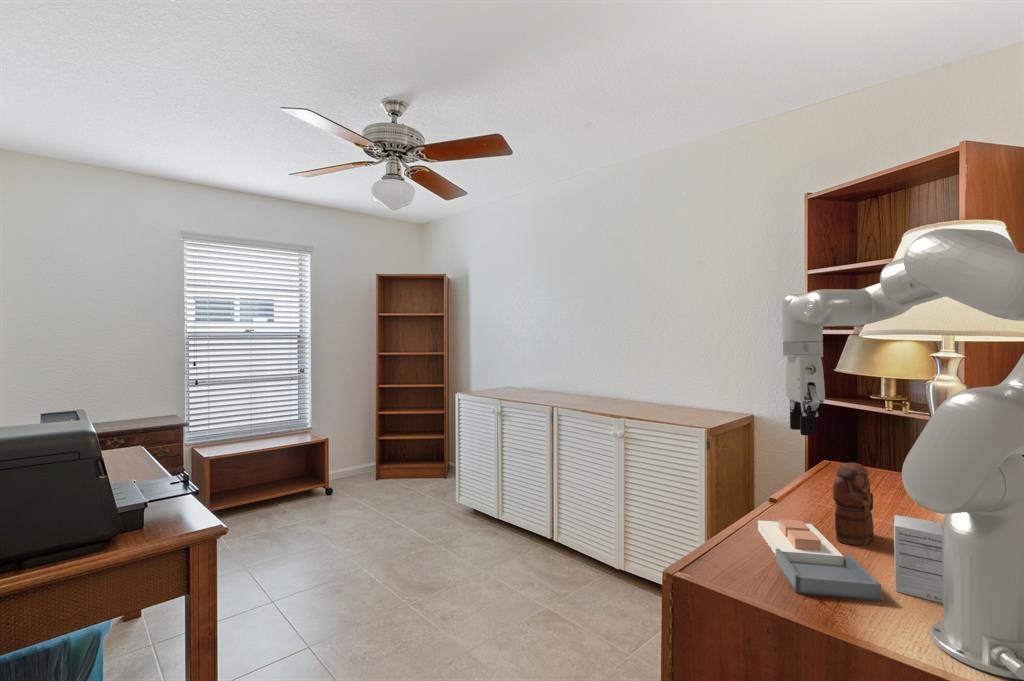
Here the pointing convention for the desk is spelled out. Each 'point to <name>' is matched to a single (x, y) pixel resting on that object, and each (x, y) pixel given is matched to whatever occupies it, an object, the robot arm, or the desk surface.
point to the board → (779, 541)
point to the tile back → (791, 526)
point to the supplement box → (918, 557)
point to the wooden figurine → (853, 505)
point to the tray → (830, 579)
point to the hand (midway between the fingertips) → (803, 431)
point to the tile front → (804, 540)
